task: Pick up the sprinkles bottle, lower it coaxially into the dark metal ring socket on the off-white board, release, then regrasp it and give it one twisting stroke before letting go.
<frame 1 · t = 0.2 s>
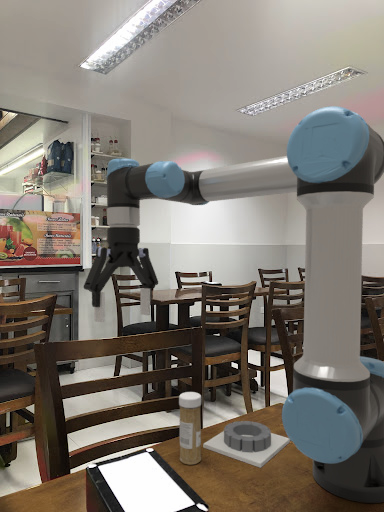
hand: (123, 318, 96), 27 cm above the table, fingers open, 13 cm apart
socket board: (247, 444, 91), on the table
sprinkles bottle: (190, 460, 84), on the table
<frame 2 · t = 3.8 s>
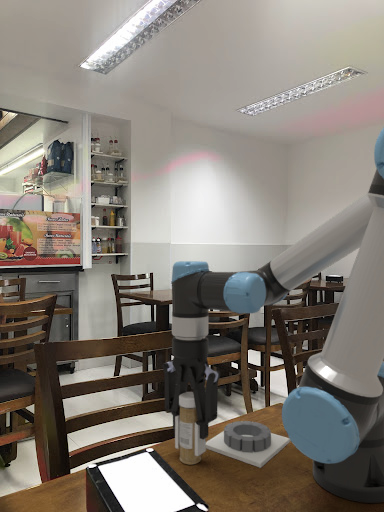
hand: (190, 449, 84), 2 cm above the table, fingers closed on sprinkles bottle, 4 cm apart
sprinkles bottle: (190, 460, 84), on the table, touching gripper
when the fingers open (4 cm above the table, at t = 8.8 s): sprinkles bottle drops 1 cm, resting on socket board.
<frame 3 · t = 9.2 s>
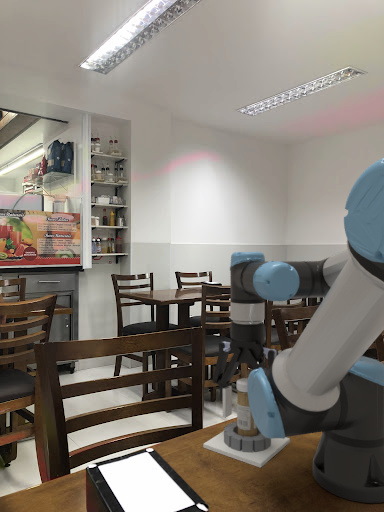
hand: (247, 421, 91), 5 cm above the table, fingers open, 10 cm apart
sprinkles bottle: (247, 441, 91), point 1 cm above the table, touching socket board
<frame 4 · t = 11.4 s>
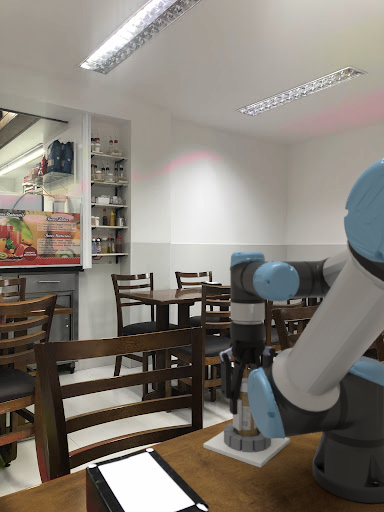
hand: (247, 426, 91), 4 cm above the table, fingers closed on sprinkles bottle, 4 cm apart
sprinkles bottle: (247, 441, 91), point 1 cm above the table, touching gripper, socket board
when the fingers open (4 cm above the table, at t = 12.9 s): sprinkles bottle stays where it is, resting on socket board.
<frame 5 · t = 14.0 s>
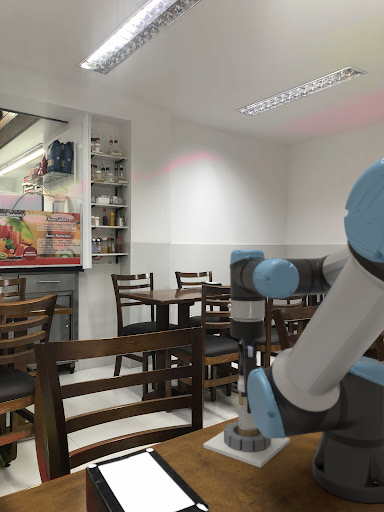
hand: (247, 414, 91), 7 cm above the table, fingers open, 13 cm apart
sprinkles bottle: (248, 442, 91), point 1 cm above the table, touching socket board
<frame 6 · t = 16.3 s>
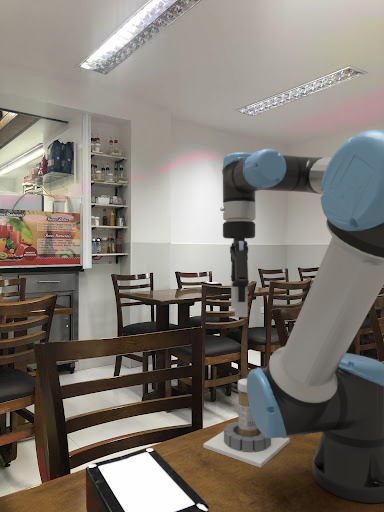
hand: (238, 312, 96), 29 cm above the table, fingers open, 13 cm apart
nothing on the table moved.
at the end: sprinkles bottle 0.2 cm from the socket board (horizontally); sprinkles bottle point 0.6 cm above the table; sprinkles bottle tilted 0° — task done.
